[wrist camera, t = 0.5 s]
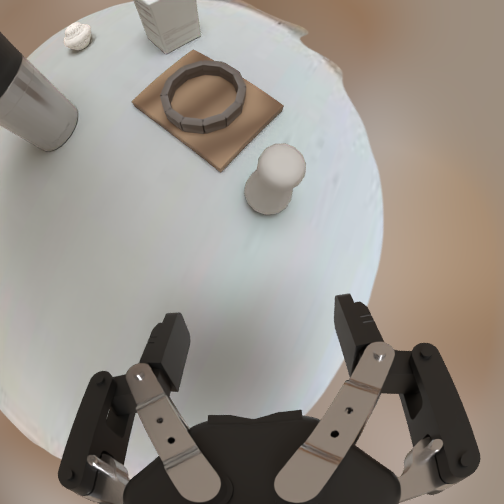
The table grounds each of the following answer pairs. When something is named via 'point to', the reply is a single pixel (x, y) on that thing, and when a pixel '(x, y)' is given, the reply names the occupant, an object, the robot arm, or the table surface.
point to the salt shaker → (275, 178)
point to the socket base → (208, 107)
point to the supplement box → (169, 22)
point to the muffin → (77, 36)
